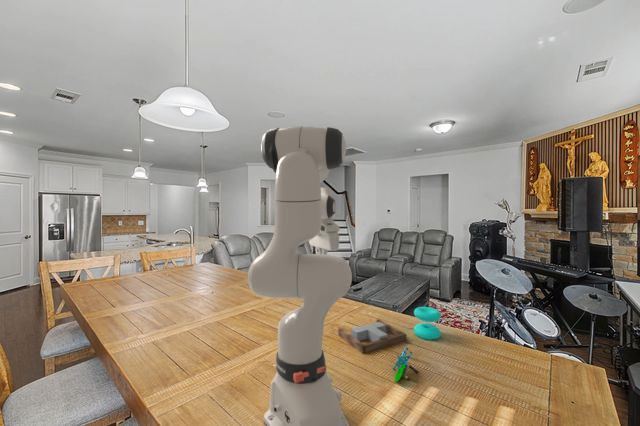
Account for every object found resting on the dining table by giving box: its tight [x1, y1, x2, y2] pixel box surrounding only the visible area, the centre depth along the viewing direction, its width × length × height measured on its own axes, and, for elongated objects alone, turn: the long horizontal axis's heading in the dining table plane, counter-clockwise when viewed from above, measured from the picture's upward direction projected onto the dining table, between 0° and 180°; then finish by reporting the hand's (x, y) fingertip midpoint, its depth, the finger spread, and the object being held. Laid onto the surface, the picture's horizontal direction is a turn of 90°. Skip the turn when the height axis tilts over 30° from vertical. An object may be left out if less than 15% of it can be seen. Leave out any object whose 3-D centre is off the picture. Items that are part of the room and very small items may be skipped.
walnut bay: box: [337, 318, 407, 354], centre depth 109 cm, size 16×20×2 cm
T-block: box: [350, 321, 389, 342], centre depth 108 cm, size 11×14×4 cm
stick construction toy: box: [392, 347, 419, 383], centre depth 85 cm, size 12×7×8 cm
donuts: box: [413, 306, 442, 341], centre depth 111 cm, size 10×10×10 cm
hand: (322, 258), depth 119 cm, fingers closed
